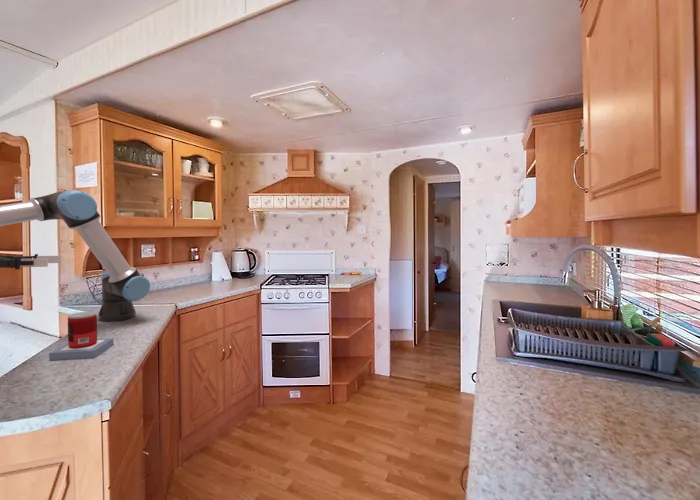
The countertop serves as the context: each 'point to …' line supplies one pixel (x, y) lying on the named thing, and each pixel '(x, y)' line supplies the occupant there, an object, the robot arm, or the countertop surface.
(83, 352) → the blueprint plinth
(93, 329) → the canned food
